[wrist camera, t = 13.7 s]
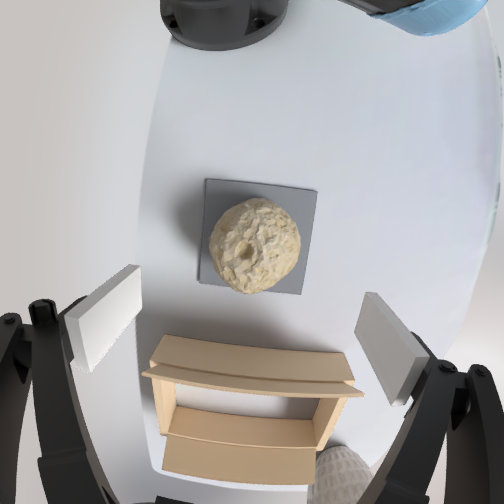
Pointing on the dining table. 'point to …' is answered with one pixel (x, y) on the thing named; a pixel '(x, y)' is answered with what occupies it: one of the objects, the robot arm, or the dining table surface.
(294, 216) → the mat
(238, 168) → the dining table surface
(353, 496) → the vase
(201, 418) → the carton
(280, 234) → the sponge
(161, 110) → the dining table surface
